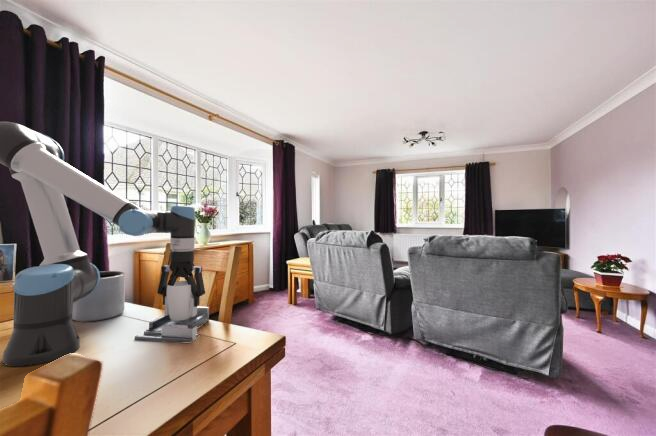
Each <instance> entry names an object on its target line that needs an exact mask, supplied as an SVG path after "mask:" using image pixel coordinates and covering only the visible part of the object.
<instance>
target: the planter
mask: <svg viewBox="0 0 656 436" xmlns="http://www.w3.org/2000/svg"><path fill="white" fill-rule="evenodd" d="M99 273H100V280H99V284H98V285H97V287H96V288H95V289H94V290H93V291H92V292H91V293H90V294H89V295H88V296H86V297H84V298H82V299H79V300H77V301H75V302H73V312H72V321H73V320H74V321H75V322H76V321H77V322H82V323H84V322H85V323H89V322H99V321H104V320H108V319H113V318H115V317H118V316H120V315H121V314H122V313H123V312H124V310H125V303H126V301H125V298H126V297H125V284H126V281H125V280H126V274H125V272H123V271H117V270H108V271H107V270H105V271H100V270H99Z"/></svg>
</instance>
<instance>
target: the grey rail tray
mask: <svg viewBox="0 0 656 436" xmlns="http://www.w3.org/2000/svg"><path fill="white" fill-rule="evenodd" d="M209 317H210V307H209V306H197V315H195V316H194V317H190V318H189V319H186V320H181V321H173V320H170V317H169V315H167V316H165V314H163V315H161V316H159V317H157V318H154V319H153V320H151V321H149V322H148V328H147V329H145V331H160V332H162V326H164V325H166V324H174V325H188V324H189V323H191V322H197V327H199V326H201V325H202V324H203V323H205V322H206V321H208V322H209V320H210V319H209ZM206 319H207V320H206ZM201 327H202V326H201Z"/></svg>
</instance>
